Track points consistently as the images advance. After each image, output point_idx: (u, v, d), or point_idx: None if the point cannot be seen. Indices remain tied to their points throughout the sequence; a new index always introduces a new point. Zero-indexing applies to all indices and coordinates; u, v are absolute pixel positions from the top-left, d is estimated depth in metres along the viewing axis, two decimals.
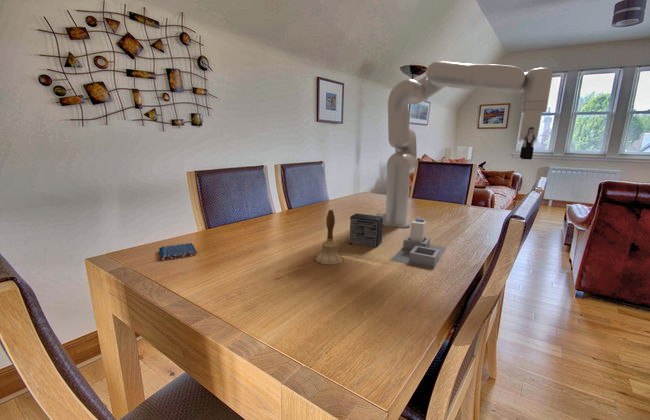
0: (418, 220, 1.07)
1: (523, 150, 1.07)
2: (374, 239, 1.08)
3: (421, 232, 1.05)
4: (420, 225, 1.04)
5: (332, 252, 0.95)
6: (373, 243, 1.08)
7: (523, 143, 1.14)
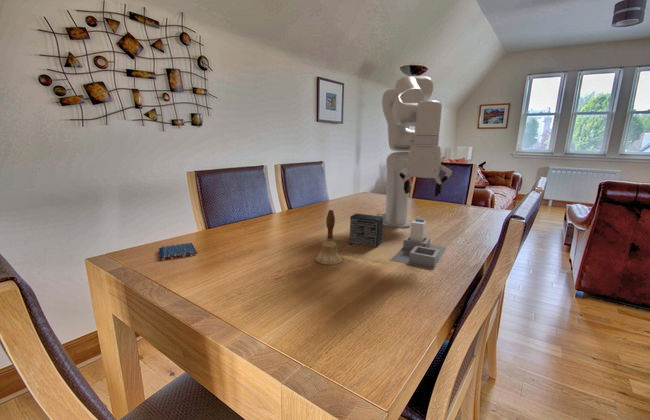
0: (418, 220, 1.07)
1: (437, 187, 1.00)
2: (374, 239, 1.08)
3: (421, 232, 1.05)
4: (420, 225, 1.04)
5: (332, 252, 0.95)
6: (373, 243, 1.08)
7: (409, 178, 1.04)
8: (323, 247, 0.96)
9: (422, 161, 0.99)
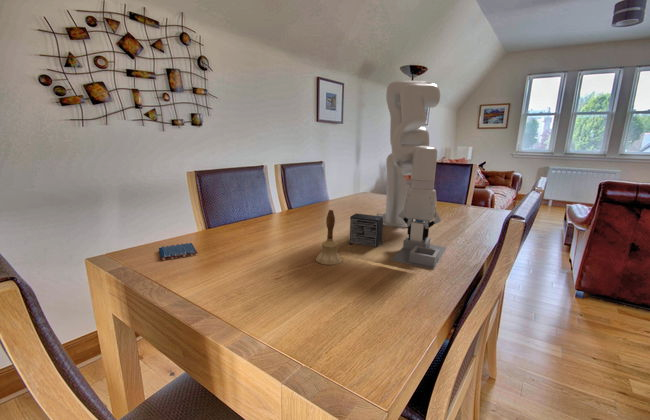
0: (418, 220, 1.07)
1: (425, 232, 1.05)
2: (374, 239, 1.08)
3: (421, 232, 1.05)
4: (420, 225, 1.04)
5: (332, 252, 0.95)
6: (373, 243, 1.08)
7: (411, 221, 1.07)
8: (323, 247, 0.96)
9: (418, 204, 1.03)
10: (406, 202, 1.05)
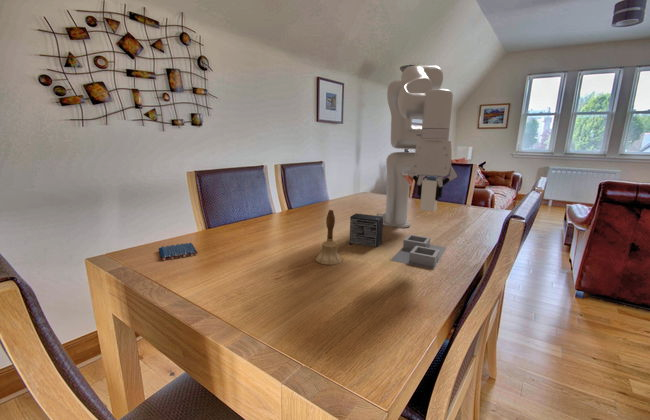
0: (430, 178, 0.93)
1: (438, 190, 0.91)
2: (374, 239, 1.08)
3: (434, 191, 0.91)
4: (433, 182, 0.90)
5: (332, 252, 0.95)
6: (373, 243, 1.08)
7: (422, 179, 0.92)
8: (323, 247, 0.96)
9: (431, 157, 0.89)
10: (416, 156, 0.91)
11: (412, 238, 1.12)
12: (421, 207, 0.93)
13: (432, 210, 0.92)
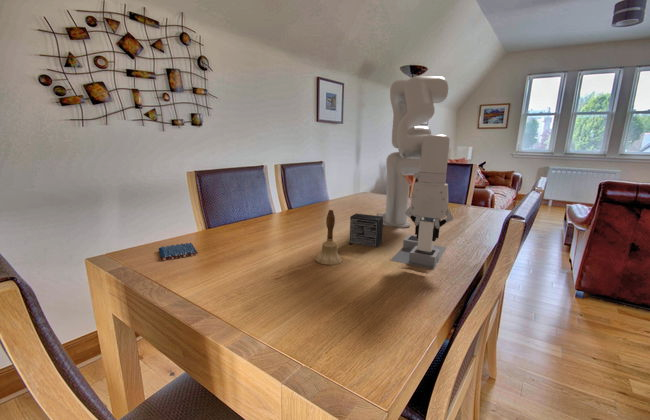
0: (427, 218, 0.94)
1: (435, 231, 0.92)
2: (374, 239, 1.08)
3: (431, 232, 0.92)
4: (430, 224, 0.92)
5: (332, 252, 0.95)
6: (373, 243, 1.08)
7: (419, 220, 0.94)
8: (323, 247, 0.96)
9: (428, 200, 0.90)
10: (414, 198, 0.92)
11: (412, 238, 1.12)
12: (418, 247, 0.95)
13: (429, 250, 0.93)
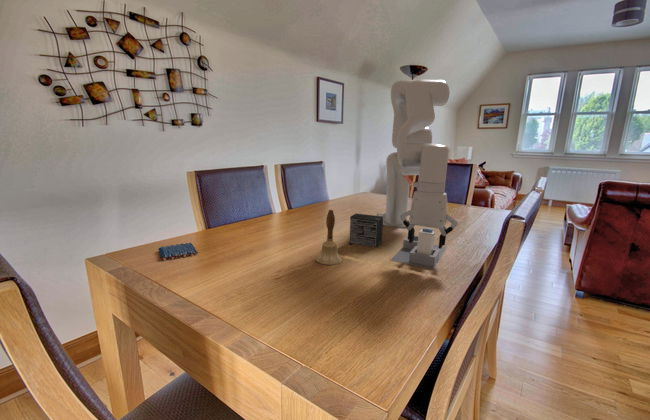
0: (426, 230, 0.96)
1: (442, 239, 0.92)
2: (374, 239, 1.08)
3: (430, 244, 0.93)
4: (428, 236, 0.93)
5: (332, 252, 0.95)
6: (373, 243, 1.08)
7: (413, 226, 0.95)
8: (323, 247, 0.96)
9: (427, 209, 0.91)
10: (413, 207, 0.93)
11: None
12: None
13: None
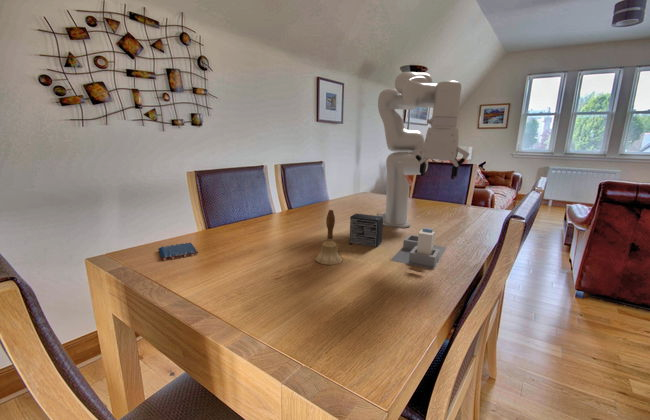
0: (426, 230, 0.96)
1: (454, 170, 1.00)
2: (374, 239, 1.08)
3: (430, 244, 0.93)
4: (428, 236, 0.93)
5: (332, 252, 0.95)
6: (373, 243, 1.08)
7: (425, 160, 1.04)
8: (323, 247, 0.96)
9: (439, 143, 0.99)
10: (426, 142, 1.01)
11: (412, 238, 1.12)
12: None
13: None
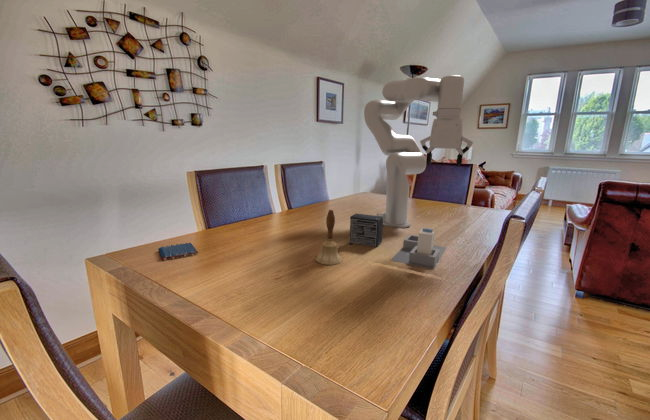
0: (426, 230, 0.96)
1: (459, 157, 1.07)
2: (374, 239, 1.08)
3: (430, 244, 0.93)
4: (428, 236, 0.93)
5: (332, 252, 0.95)
6: (373, 243, 1.08)
7: (431, 150, 1.11)
8: (323, 247, 0.96)
9: (445, 133, 1.06)
10: (433, 132, 1.08)
11: (412, 238, 1.12)
12: None
13: None
